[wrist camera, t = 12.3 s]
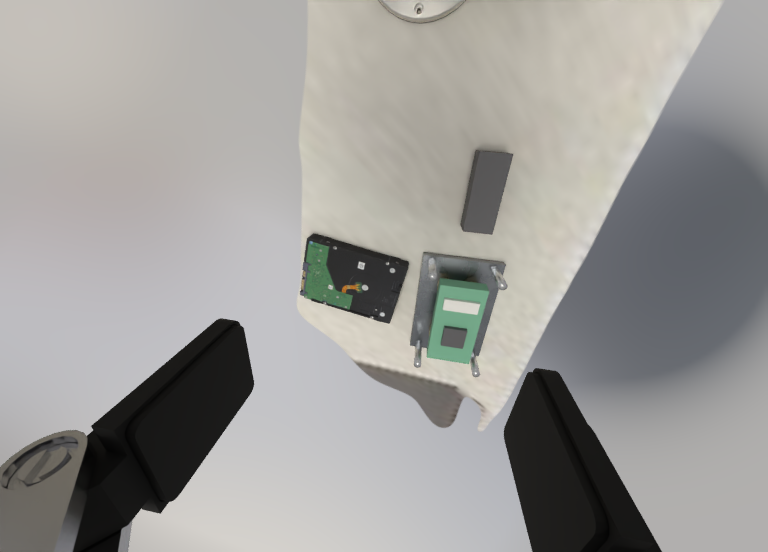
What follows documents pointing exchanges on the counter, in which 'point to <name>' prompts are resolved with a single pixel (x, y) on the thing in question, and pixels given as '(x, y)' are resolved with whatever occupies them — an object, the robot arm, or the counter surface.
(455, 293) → the board
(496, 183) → the block
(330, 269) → the disk drive
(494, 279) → the chassis
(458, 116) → the counter surface
